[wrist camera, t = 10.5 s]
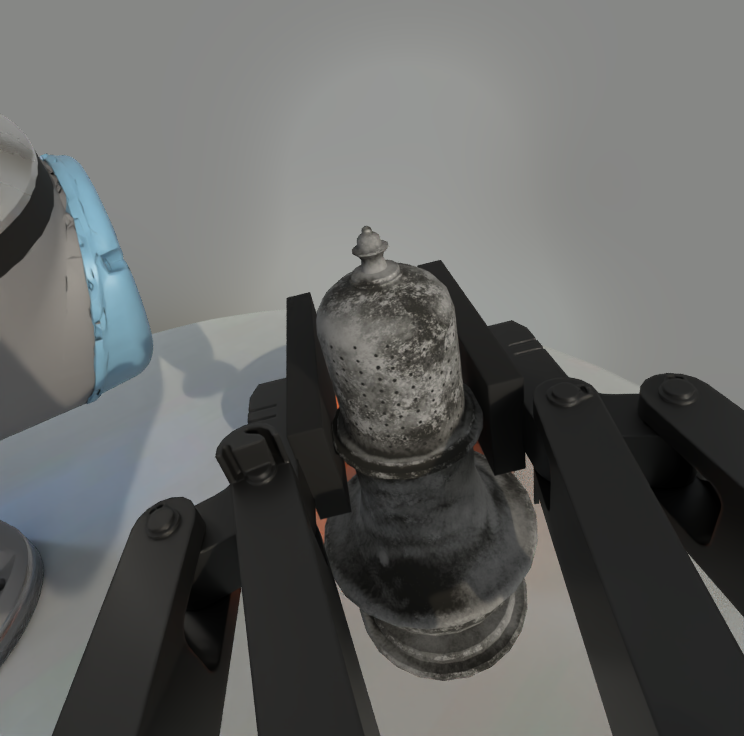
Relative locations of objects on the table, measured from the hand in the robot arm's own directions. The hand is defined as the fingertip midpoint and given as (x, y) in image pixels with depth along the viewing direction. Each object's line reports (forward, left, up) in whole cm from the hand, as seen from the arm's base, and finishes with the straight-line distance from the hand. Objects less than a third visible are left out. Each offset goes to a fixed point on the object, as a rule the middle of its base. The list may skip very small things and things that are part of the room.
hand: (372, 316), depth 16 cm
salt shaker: (+4, -4, -7) cm, 9 cm away
